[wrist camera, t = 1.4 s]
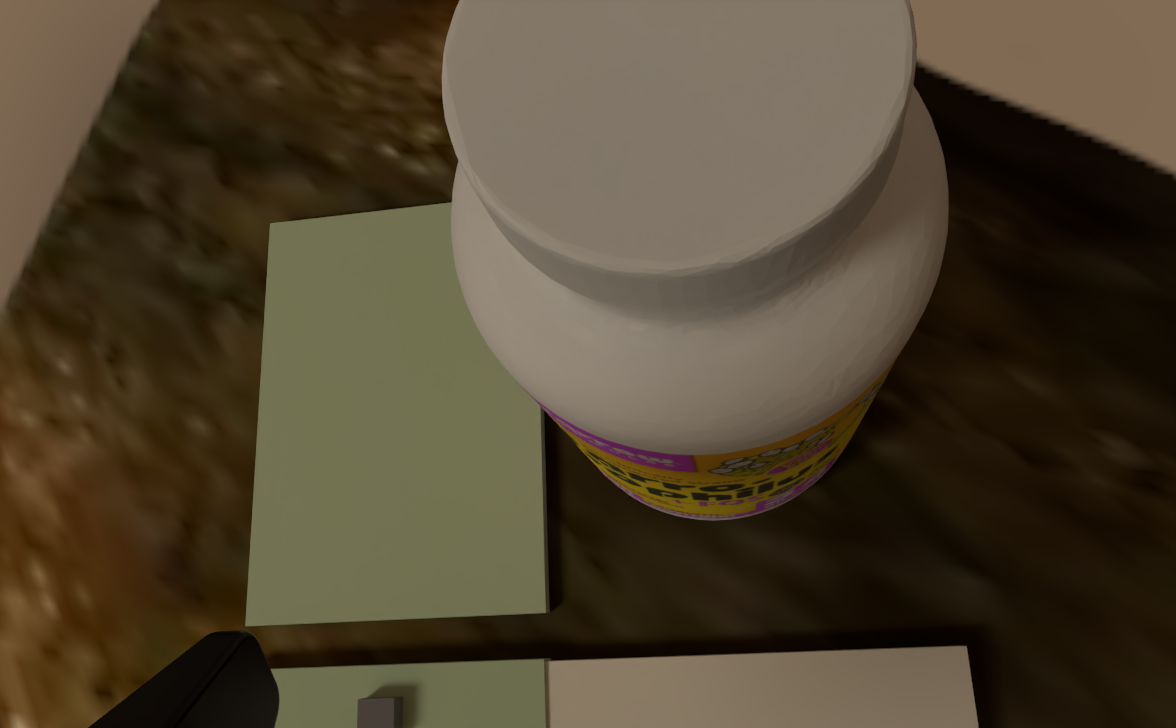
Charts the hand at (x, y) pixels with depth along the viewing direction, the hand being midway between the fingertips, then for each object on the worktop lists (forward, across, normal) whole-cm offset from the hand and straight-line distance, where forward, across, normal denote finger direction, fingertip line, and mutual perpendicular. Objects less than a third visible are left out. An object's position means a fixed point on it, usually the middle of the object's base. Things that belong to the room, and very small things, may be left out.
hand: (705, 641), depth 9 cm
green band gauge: (+11, +3, +5) cm, 13 cm away
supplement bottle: (+12, 0, +4) cm, 13 cm away
